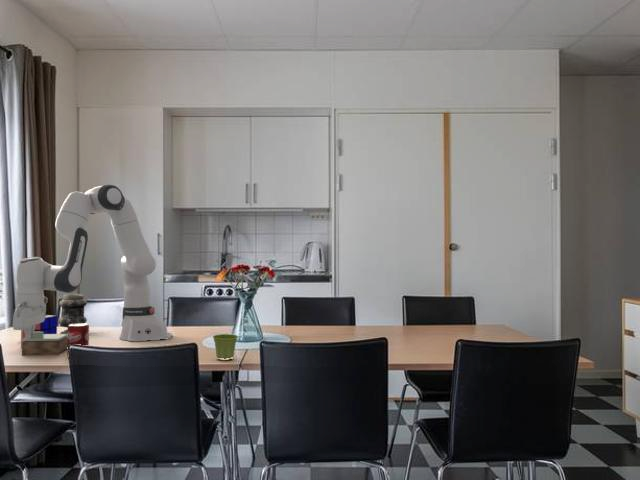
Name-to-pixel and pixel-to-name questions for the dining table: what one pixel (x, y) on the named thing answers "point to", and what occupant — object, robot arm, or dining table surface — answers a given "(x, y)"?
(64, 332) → the apothecary jar
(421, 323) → the dining table surface
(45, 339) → the lid
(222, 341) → the plant pot
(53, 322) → the puzzle cube
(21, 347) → the key peg
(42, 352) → the brown wooden box
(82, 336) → the soda can
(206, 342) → the dining table surface
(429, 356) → the dining table surface
